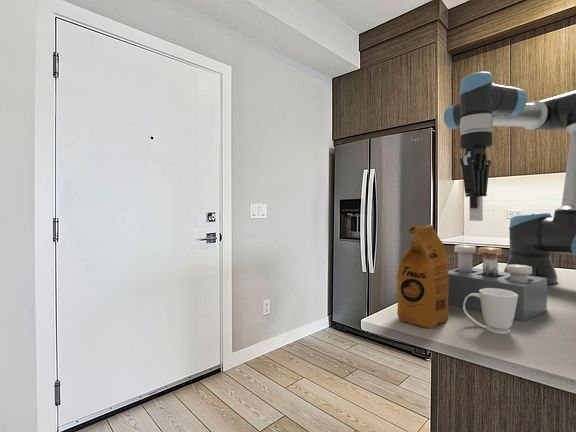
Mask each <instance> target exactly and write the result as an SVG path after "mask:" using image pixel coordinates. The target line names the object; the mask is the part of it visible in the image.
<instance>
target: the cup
mask: <svg viewBox="0 0 576 432" xmlns="http://www.w3.org/2000/svg"><path fill="white" fill-rule="evenodd" d="M469 296H476V297H479V298H480V301H481V307H482V311H481V313H482V316H483V319H484V322H485V324H486V325H485V324H482V323H481V322H478V321H477V320H476V319H475V318H474V317H472V316H471V315H470V314H469V313H468V311H467V309H466V307H465V303H466V300H467V298H468V297H469ZM517 299H518V294H516V293H514V292H513V291H508V290H503V289H494V288H485V289H480V290H479V294H478V293H471V294H469V295H468V296H467V297H466V298H465V300H464V303H463V307H462V309H463V313H464V314H465V315H466V317H467V318H468V319H470V321H472V322H473V323H475V324H476V325H478V326H479V327H481V328H482V329H486V330H487V331H489V332H491V333H495V334H502V335H508V334H509V333H511V330H510V329H509V328H511V327H512V324H513V322H514V320H515V319H514V315H515V310H516V304H517Z"/></svg>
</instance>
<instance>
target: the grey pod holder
mask: <svg viewBox="0 0 576 432" xmlns="http://www.w3.org/2000/svg"><path fill="white" fill-rule="evenodd" d="M448 276H449V284H448V305H449V304H450V305H453V306H459V307H462V308H463V303H464V300H465V298H466V297H467V296H468V295H469V294H471V293H478V294H479V290H480V289H485V288H494V289H503V290H508V291H513V292H514V293H516V294H518V299H517V304H516V310H515V315H514V319H513V320H515V321H520V322H525V321H528V320H529V319H531V318H533V317H536V316H538V315H539V314H541V313H543V312H546V311H547V309H548V305H547V304H548V284H547V278H542V277H535V276H528V275H527V283H525V282H519V281H512V280H510V273H506V272H504V271H499V270H498V278H493V277H487V276H483V268H478V267H477V268H476V267H472V273H471V274H467V273H461V272H458V268H453V269H448ZM466 308H467V309H470V310H474V311H479V312H482V307H481V301H480V298H479V297H476V296H469V297H468V298H467V300H466V303H465V309H466Z"/></svg>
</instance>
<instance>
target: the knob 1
mask: <svg viewBox="0 0 576 432" xmlns="http://www.w3.org/2000/svg"><path fill="white" fill-rule="evenodd" d="M454 252H455V253H457V254H458V255H457V257H458V260H457V261H458V263H457V265H458V268H457V269H458V272H461V273H467V274H471V273H472V268H473V254H475V253H477V247H476V245H475V246H474V245H463V244H461V245H454Z"/></svg>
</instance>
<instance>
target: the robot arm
mask: <svg viewBox="0 0 576 432" xmlns="http://www.w3.org/2000/svg"><path fill="white" fill-rule="evenodd" d="M493 82H494V80H493V75H492V74H491V72H489V71H478V72H473V73H470V74H467V75H466V76H464V77H463V78H462V79H461V81H460V88H459V102H458V103H454V104H452V105H451V106H448V107H447V108H446V109H445V110H444V113H443V122H444V124H445V126H446V127H447V128H449V129H452V130H453V129H454V130H455V129H459V132H460V134H461V135H460V137H459V143H460V144H459V147H460V149H461V150H463V151H465V153H464V155H465V156H464V157H460V158H459V162H460V165H461V168H462V170H461V171H462V178H463V186H464V187H463V188H464V193H465V194H464V196H465V198H467V197H468V198H469V199H468V200H469V222H470V221H471V222H473V221H474V222H478V221H479V222H481V221H482V222H483V216H484V215H483V213H484V212H483V211H484V209H483V208H484V207H483V206H484V205H483V204H484V203H483V201H484V200H483V198H484V197H487V195H488V194H487V192H488V182H489V173H490V166H491V164H492V163H491V162H492V161H491V160H490V159H488V157H487V152H486V150H487V148H490V147H492V146H493V133H492V130H493V127H522V128H523V129H525V130H529V131H530V130H533V131H535V130H536V131H537V130H538V131H539V130H540V131H558V130H559V131H560V130H565V131H566V132H567V133H569V134H570V138H569V139H570V141H569V146H568V147H569V148H568V156H567V163H566V169H565V176H564V177H565V178H564V185H563V192H562V199H561V206H559V207H558V208H556V209H555V210H554V212H553V213H554V214H553V216H552V214H551V213H550V212H542V213H540V212H539V213H531V214H530V213H529V214H519V215H514V216H512V217H511V218H510V220H509V227H508V229H509V258H508V260H507V262H506V265H526V266H531V267H532V274H528V276H535V277H542V278H547V285H551V284H557V283H558V275H557V272H556V269H555V267H554V264H553V262H552V257H551V255H552V253H554V254H564V255H571V256H572V255H573V256H576V90H573V91H570V92H566V93H563V94H559V95H557V96H553V97H550V98H547V99H542V100H534V101H533V100H531V101H530V102H528V95H527V93H526V91H525V90H523V88H517V87H516V86H510V85H509V86H506V85H501V84H495V83H493ZM503 272H506V266H505V268H504V270H503ZM506 273H508V272H506Z"/></svg>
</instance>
